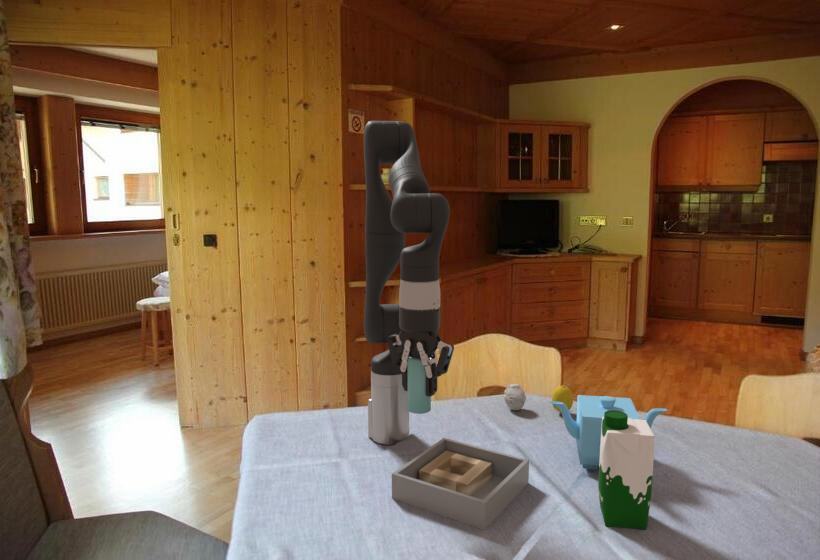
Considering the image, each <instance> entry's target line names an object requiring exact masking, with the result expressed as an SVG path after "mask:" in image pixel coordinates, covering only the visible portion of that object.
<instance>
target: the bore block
mask: <svg viewBox="0 0 820 560" xmlns="http://www.w3.org/2000/svg"><path fill="white" fill-rule="evenodd" d="M450 471H453V472H456V473H460V474H463V476H460V475H456V474H453V473H449V472H450ZM491 477H492V463H490V462H487V461H483V460H479V459H476V458H472V457H468V456H465V455H461V454H457V453H454V452H450V451H445V452H443V453H442V454H441V455H439V456H438V457H437V458H435V459H434V460H432V461H431V462H430V463H428V464H427V465H426V466H424V467H423V468H421V469H420V470H419V480H421V481H424V482H427V483H430V484H434V485H437V486H440V487H443V488H446V489H450V490H453V491H456V492H459V493H462V494H466V495H469V496H471V495H472V494H473V493H474V492H475V491H477V490H478V489H479V488H480V487H481V486H482V485H483V484H484V483H485V482H486V481H487V480H489V479H490V478H491Z"/></svg>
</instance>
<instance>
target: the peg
mask: <svg viewBox="0 0 820 560" xmlns="http://www.w3.org/2000/svg"><path fill="white" fill-rule="evenodd" d="M428 360H430V357H429V358H428ZM407 377H408V411H409V413H412V414H418V415H420V414H421V415H422V414H428V413H429V412H431V410H432V396H431V397H428V396H426V377H427V374H426V370H425V367H424V366H423V365H422V361H421V359H420V358H418V357H409V358H408V361H407Z"/></svg>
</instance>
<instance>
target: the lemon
mask: <svg viewBox="0 0 820 560" xmlns="http://www.w3.org/2000/svg"><path fill="white" fill-rule="evenodd" d="M552 392H553V393H552V395H551V401H558V402H562V403H564V404H565V405H566V406H567V407H568V409H569V411H570V410H571V409H572V407H573V403H574V396H573V392H572V390H570V388H568V387H567V386H565V385H564V384H562V385H560V386H558V387H556V388H555V389H554V390H553V391H552ZM552 407H553V409H555V410H556V411H557V412H559V413H560V414H561V415H562V413H561V411H560V409H559V408H558V407H557V406H555V405H554V404H552Z"/></svg>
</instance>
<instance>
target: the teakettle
mask: <svg viewBox="0 0 820 560" xmlns="http://www.w3.org/2000/svg"><path fill="white" fill-rule="evenodd" d="M576 398H577V401H576V420H574V419H573V417H572V415H571V412H570V410H569V409H568V407H567V406H566V405H565V404H564V403H562V402H558V401H552V400H551V401H549V403H550V404H552V405H553V404H554V405H555V406H557V407H558V408H559V409H560V411H561V413H562V414H561V413H560V414H561V415H562V419H563V421H564V426H565V428H566V431H567V432H568V433H569V435H570V436H571V437H572V438H574V439H575V441H576V447H577V454H578V460H579V465H582V467H584V469H587V470H597V468H598V467H599V461H600V442H601V427H602V417H604V413H605V412H606V411H610V410H616V411H621V412H624V413H626V414H627V415H628V418H631V419H640V420H641V418H640V416H639V414H638V412H637V410H636V409H637V408H636V406H635V404H634V403H633V400H632V399H631V398H630V397H617V396H616V397H615V396H609V395H603V396H601V395H599V396H598V395H585V394H584V395H583V394H578V395H577V397H576ZM667 411H669V410H668V409H667V408H662V407H658V408H657V407H656V408H651V409H650V410H648V412H647V413H646V415H645V416H644V419H643V420H646V422H647V424H648V425H649V427H650V429H651V428H652V425H653V423H654V421H655V420H656V418H657V417H658V416H659V415H660V414H663V413H665V412H667ZM651 430H652V429H651Z"/></svg>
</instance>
